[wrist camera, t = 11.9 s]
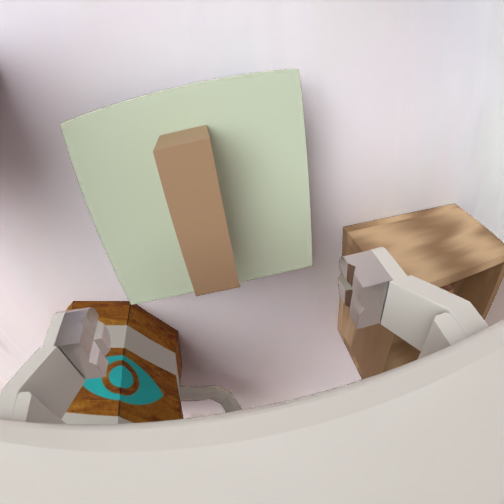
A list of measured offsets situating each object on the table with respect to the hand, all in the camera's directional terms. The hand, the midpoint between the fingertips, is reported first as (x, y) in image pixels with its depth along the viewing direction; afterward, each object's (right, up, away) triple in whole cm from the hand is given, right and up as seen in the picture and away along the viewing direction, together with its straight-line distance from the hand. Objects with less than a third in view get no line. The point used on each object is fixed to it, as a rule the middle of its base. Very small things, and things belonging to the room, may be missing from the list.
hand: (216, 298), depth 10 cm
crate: (+15, 0, +18) cm, 23 cm away
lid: (-2, +5, +8) cm, 9 cm away
